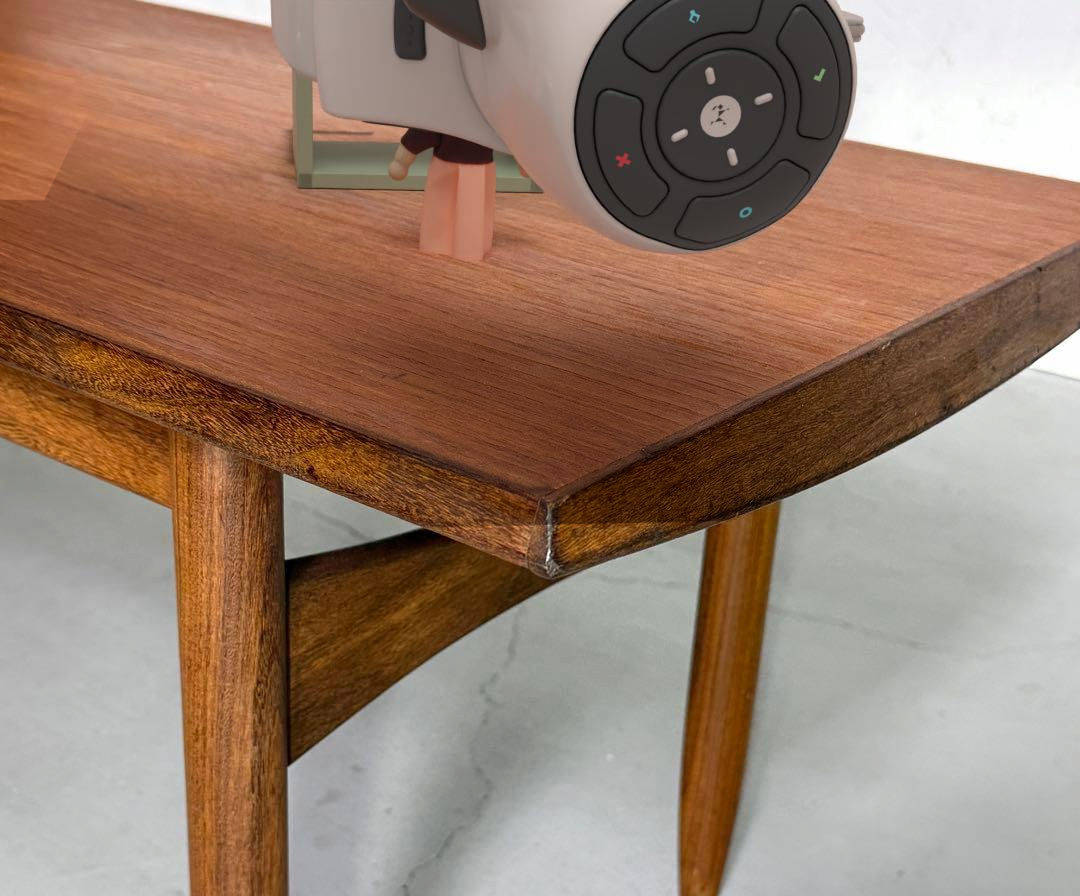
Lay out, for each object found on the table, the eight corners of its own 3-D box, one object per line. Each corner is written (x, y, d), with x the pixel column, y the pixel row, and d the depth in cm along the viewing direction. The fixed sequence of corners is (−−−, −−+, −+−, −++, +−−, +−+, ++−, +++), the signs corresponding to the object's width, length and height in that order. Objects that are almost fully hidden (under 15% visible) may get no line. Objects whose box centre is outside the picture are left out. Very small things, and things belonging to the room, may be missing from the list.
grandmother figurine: (405, 294, 76) (411, 33, 70) (381, 273, 79) (384, 21, 73) (542, 284, 79) (558, 34, 73) (514, 264, 82) (527, 23, 76)
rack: (297, 187, 95) (295, 40, 91) (293, 154, 104) (291, 18, 100) (543, 192, 98) (552, 50, 94) (519, 159, 106) (526, 28, 103)
